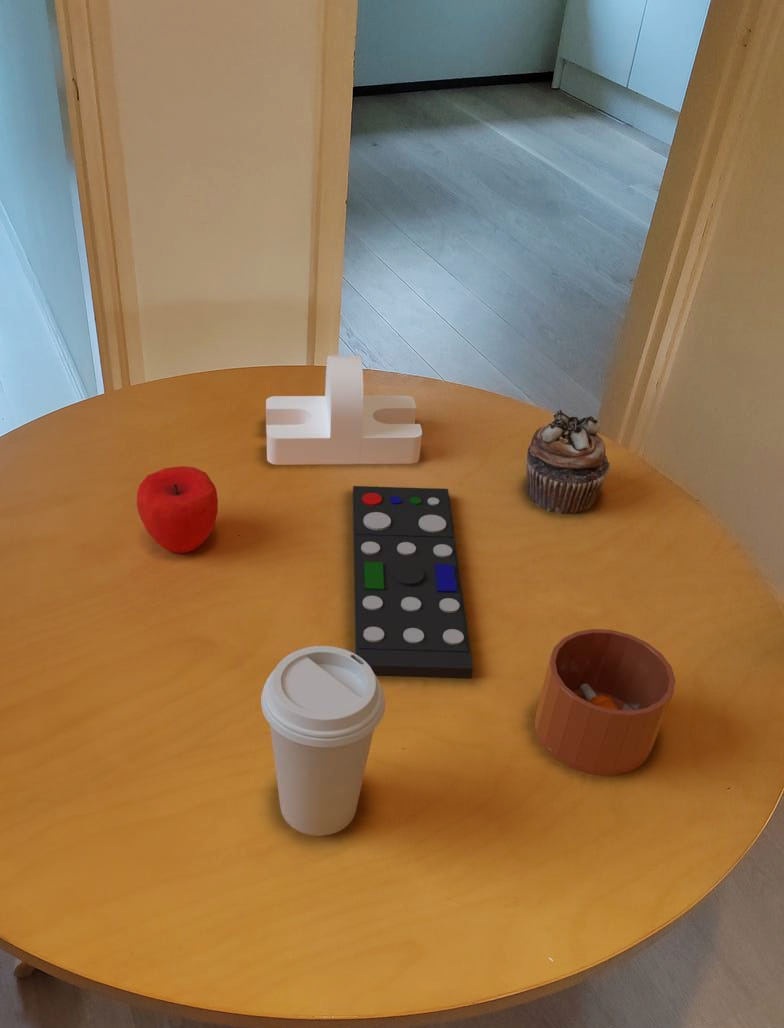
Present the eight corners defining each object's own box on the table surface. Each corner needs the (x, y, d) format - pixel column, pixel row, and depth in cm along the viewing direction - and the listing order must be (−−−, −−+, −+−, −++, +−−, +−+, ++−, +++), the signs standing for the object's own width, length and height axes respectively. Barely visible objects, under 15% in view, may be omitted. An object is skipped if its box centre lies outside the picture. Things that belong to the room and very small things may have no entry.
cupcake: (516, 512, 119) (531, 437, 112) (523, 467, 126) (537, 395, 119) (599, 524, 118) (619, 450, 111) (602, 479, 125) (620, 406, 118)
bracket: (410, 421, 134) (419, 340, 126) (420, 464, 126) (429, 380, 119) (265, 422, 133) (265, 340, 125) (267, 465, 126) (266, 381, 118)
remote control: (446, 499, 121) (448, 485, 120) (470, 679, 99) (473, 664, 97) (352, 496, 121) (353, 482, 120) (355, 675, 99) (356, 660, 97)
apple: (158, 511, 118) (153, 453, 113) (230, 524, 116) (228, 466, 111) (128, 557, 112) (121, 497, 106) (204, 572, 110) (200, 512, 105)
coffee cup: (392, 832, 85) (408, 709, 75) (284, 865, 83) (285, 741, 72) (348, 751, 92) (357, 627, 82) (247, 779, 89) (244, 654, 79)
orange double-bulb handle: (615, 762, 91) (643, 748, 91) (611, 745, 89) (640, 731, 89) (571, 700, 97) (598, 687, 97) (567, 683, 95) (594, 669, 95)
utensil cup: (671, 726, 95) (695, 665, 89) (619, 795, 89) (641, 734, 83) (569, 674, 99) (586, 613, 94) (513, 736, 93) (528, 674, 88)
